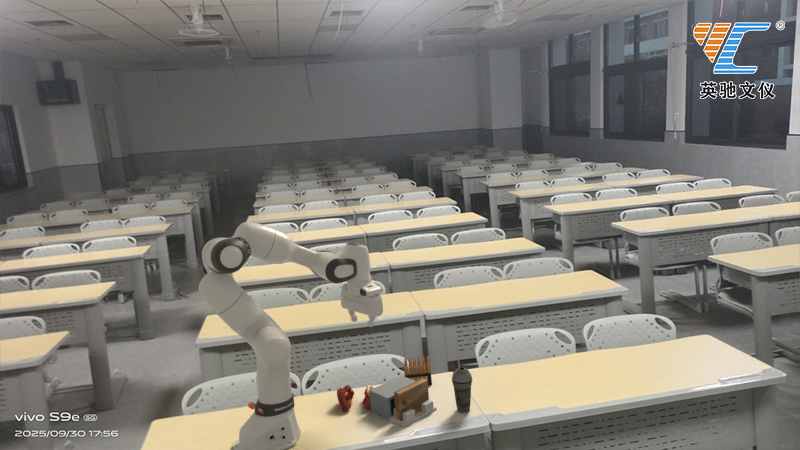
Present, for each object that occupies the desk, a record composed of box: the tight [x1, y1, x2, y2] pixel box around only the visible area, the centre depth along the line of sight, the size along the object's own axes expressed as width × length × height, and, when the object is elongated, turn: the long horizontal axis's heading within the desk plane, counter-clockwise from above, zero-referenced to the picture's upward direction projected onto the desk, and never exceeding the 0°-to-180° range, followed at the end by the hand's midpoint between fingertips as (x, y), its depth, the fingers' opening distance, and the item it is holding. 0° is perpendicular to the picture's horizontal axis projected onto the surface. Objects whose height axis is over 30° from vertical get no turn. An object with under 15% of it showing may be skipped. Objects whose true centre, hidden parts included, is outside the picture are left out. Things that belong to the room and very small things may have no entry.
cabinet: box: [369, 375, 437, 427], centre depth 212 cm, size 16×18×8 cm
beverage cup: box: [451, 355, 473, 414], centre depth 208 cm, size 7×7×20 cm
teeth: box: [336, 384, 374, 413], centre depth 219 cm, size 10×8×15 cm
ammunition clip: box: [403, 355, 433, 386], centre depth 232 cm, size 11×2×12 cm, turn 96°
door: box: [394, 379, 430, 421], centre depth 208 cm, size 4×14×10 cm, turn 133°
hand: (362, 323), depth 214 cm, fingers open, 8 cm apart
